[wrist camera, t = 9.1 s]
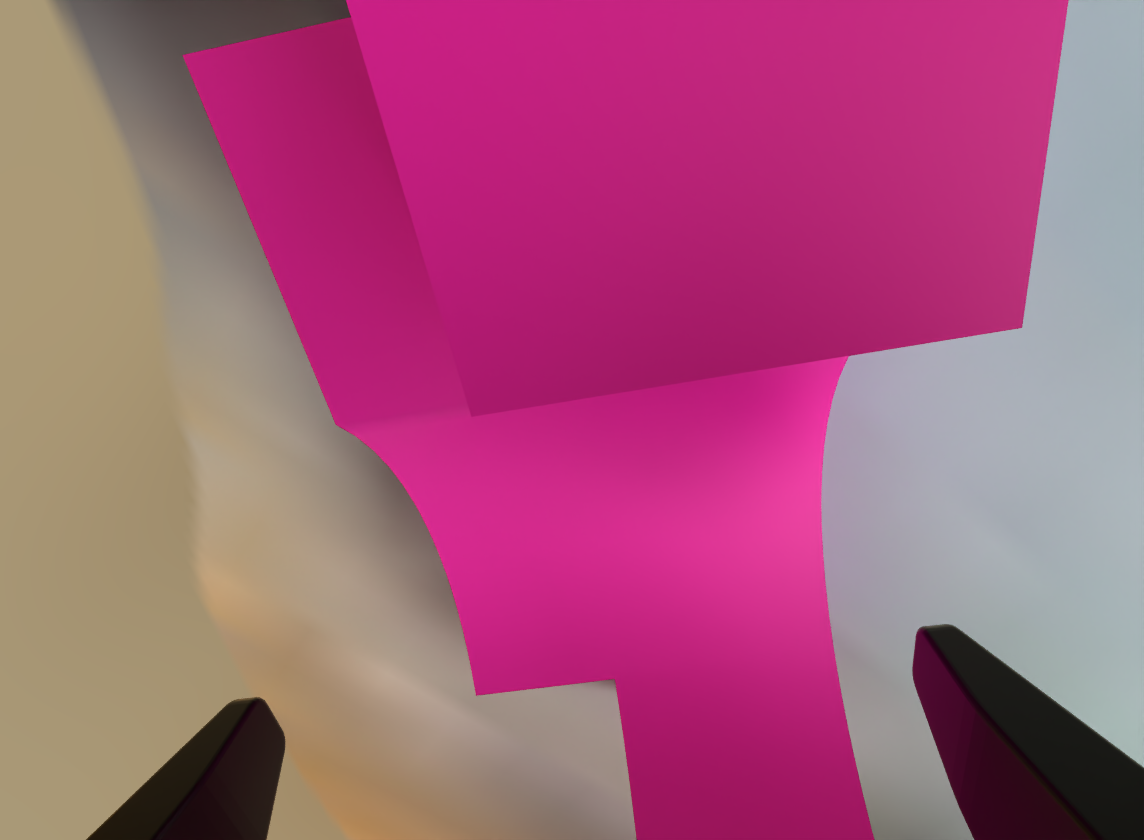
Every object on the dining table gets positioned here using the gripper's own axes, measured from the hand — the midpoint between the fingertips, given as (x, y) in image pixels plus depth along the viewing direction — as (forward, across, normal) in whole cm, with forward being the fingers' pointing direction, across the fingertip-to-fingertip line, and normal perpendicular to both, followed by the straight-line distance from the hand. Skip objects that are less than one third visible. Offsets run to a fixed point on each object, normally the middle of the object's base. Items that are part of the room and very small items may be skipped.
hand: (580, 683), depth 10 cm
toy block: (+6, -1, -1) cm, 6 cm away
